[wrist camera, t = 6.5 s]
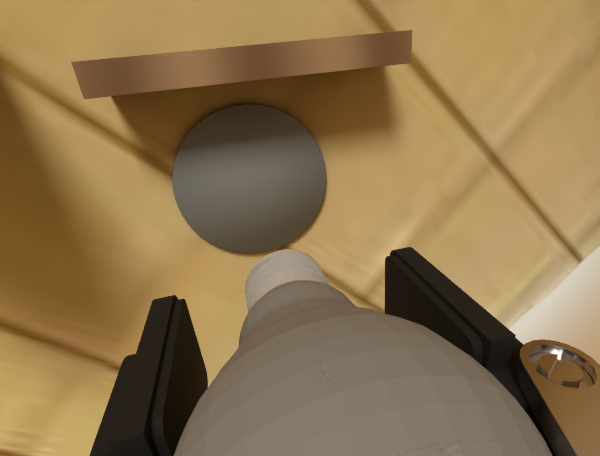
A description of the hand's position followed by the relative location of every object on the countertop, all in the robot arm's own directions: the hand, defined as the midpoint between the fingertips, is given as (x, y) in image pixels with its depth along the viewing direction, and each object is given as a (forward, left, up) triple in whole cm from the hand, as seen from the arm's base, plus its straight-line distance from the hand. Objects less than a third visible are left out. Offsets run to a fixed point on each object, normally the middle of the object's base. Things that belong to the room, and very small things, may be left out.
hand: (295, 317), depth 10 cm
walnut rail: (-1, -7, -14) cm, 16 cm away
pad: (0, 0, -14) cm, 14 cm away
